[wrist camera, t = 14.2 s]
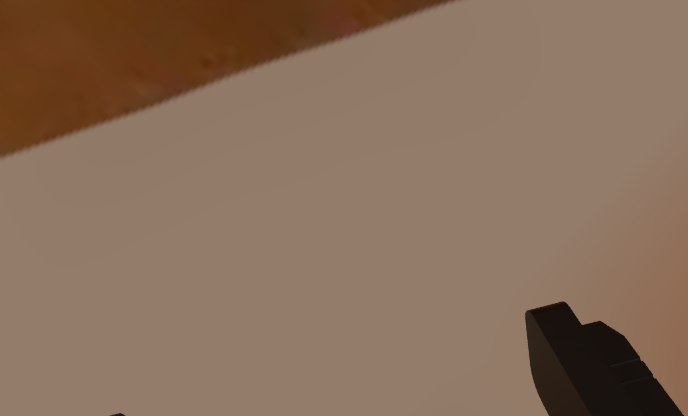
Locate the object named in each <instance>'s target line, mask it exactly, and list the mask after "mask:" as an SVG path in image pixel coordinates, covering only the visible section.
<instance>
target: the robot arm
mask: <svg viewBox="0 0 688 416" xmlns="http://www.w3.org/2000/svg"><path fill="white" fill-rule="evenodd" d="M525 320H526V330H527V339H528V349H529V358H530V367H531V372H532V376H533V380H534V383H535V387H536V389H537V392H538V394H539V397H540V399H541V401H542V403H543V405H544V407H545V409H546V411H547V413H548V415H549V416H684V415H683V414H682V413H681V411H680V410H679V409H678V407H677V406H676V405H675V403H674V402H673V401H672V399H671V398H670V397H669V395H668V394H667V393H666V391H665V390H664V389H663V387H662V386H661V385H660V384H659V382H658V381H657V379H654V377H653V374H652V373H651V371H650V370H649V369H648V367H647V366H646V365H645V363H644V362H643V361H641V360H640V357H639V355H638V354H637V353H636V351H635V350H634V349H633V347H632V346H631V345H630V343H629V342H628V341H627V339H626V338H625V337H624V336H623V335H622V334H620V333H619V332H617V331H615V330H613V329H612V328H611V327H609V326H607V325H606V324H604V323H603V322H601V321H597V322H593V323H589V324H585V325H581V323H580V322H579V321H578V319H577V317H576V316H575V314H574V313H573V311H572V310H571V308H570V307H569V306H568V304H567V303H566V302H559V303H555V304H551V305H547V306H544V307H540V308H536V309H531V310H528V311H526V313H525ZM111 416H125V415H123V414H121V413H119V414H115V415H111Z"/></svg>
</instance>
